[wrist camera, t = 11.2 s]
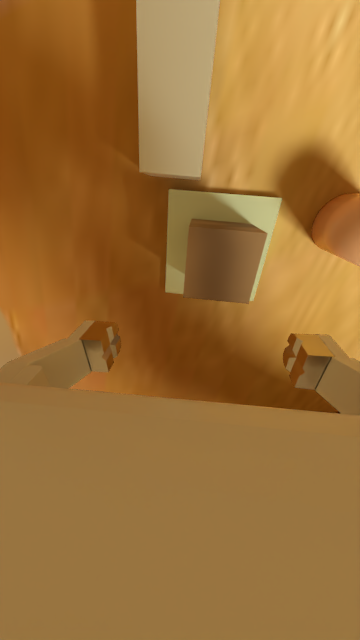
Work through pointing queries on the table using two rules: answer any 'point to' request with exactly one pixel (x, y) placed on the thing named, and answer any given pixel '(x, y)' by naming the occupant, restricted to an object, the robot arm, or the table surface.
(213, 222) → the walnut cube
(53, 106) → the table surface
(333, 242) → the brown egg
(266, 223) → the green tile
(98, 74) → the table surface
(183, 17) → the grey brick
